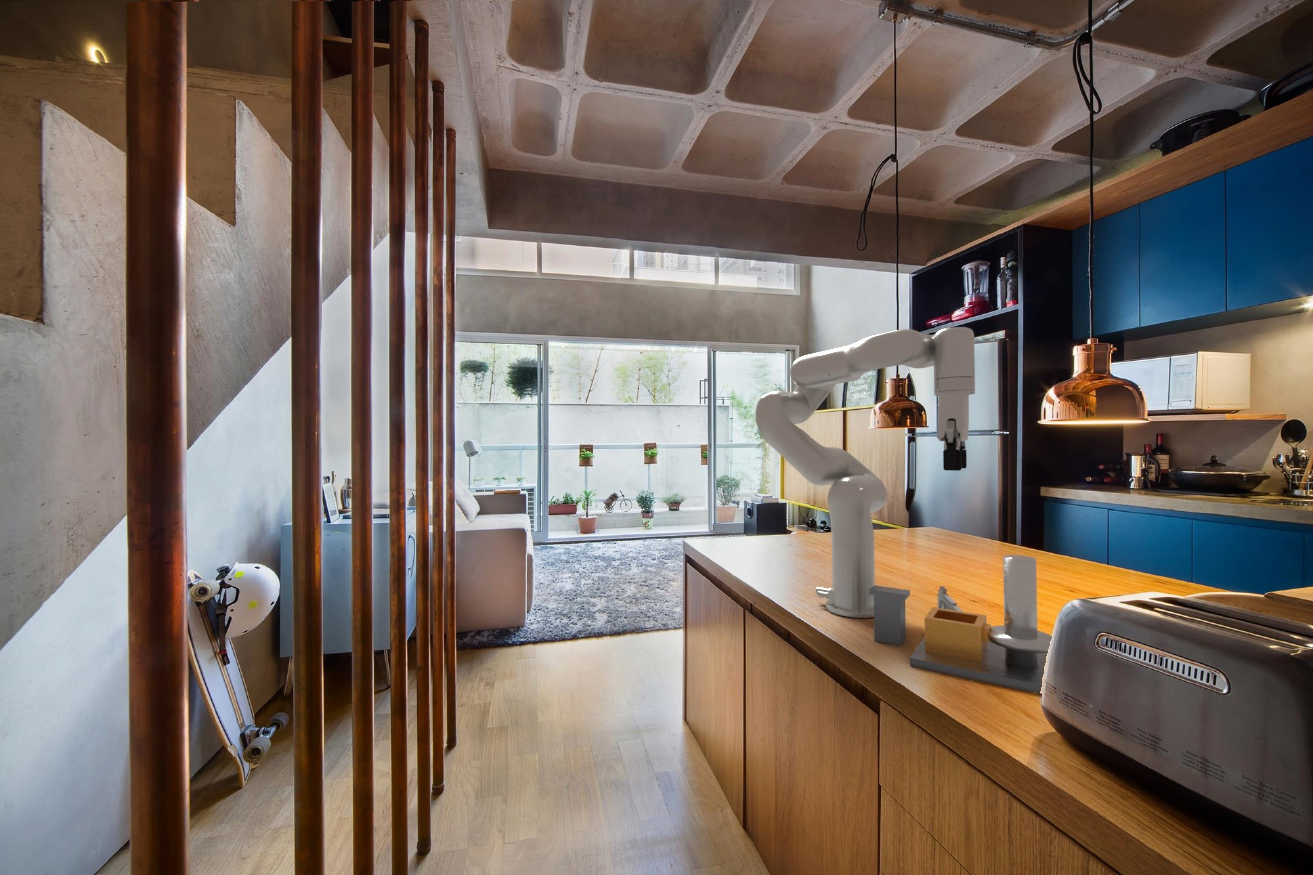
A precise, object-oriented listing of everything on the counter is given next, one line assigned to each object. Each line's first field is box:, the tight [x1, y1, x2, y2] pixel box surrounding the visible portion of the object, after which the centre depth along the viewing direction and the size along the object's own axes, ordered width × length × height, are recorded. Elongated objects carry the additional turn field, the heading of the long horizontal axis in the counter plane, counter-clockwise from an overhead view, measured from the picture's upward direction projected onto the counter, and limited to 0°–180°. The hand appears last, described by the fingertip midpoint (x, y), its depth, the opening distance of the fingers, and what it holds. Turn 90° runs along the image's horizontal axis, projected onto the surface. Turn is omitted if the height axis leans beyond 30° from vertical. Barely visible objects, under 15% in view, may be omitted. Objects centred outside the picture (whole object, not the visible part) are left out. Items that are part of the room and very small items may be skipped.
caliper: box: [937, 585, 964, 612], centre depth 119 cm, size 20×1×6 cm, turn 176°
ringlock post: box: [909, 554, 1053, 695], centre depth 98 cm, size 21×18×20 cm
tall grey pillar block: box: [869, 584, 911, 647], centre depth 110 cm, size 7×4×10 cm, turn 53°
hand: (955, 469), depth 115 cm, fingers open, 9 cm apart
